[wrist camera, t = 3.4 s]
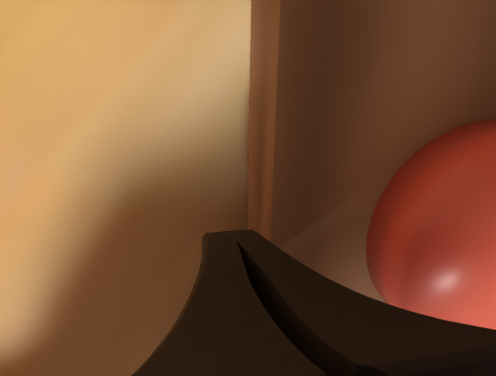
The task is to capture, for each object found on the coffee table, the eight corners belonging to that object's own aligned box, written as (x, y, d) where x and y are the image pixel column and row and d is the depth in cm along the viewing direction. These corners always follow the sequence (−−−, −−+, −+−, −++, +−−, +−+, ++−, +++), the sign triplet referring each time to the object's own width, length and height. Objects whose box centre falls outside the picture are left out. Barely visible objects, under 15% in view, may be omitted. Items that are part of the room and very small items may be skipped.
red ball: (353, 331, 15) (387, 382, 13) (381, 123, 12) (429, 146, 10) (532, 306, 16) (587, 347, 14) (591, 115, 13) (669, 134, 11)
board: (244, 381, 18) (262, 446, 16) (252, -56, 12) (283, -74, 10) (528, 336, 21) (585, 383, 19) (645, -36, 15) (754, -45, 13)
